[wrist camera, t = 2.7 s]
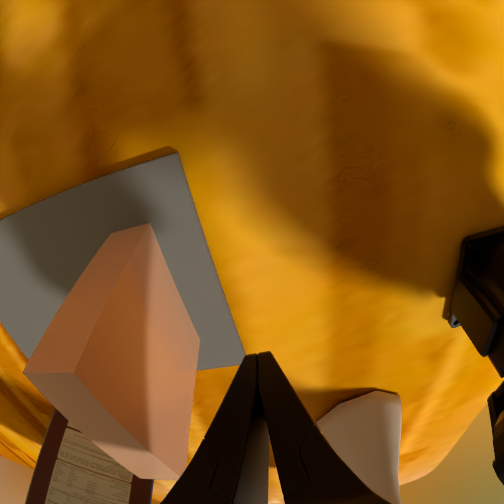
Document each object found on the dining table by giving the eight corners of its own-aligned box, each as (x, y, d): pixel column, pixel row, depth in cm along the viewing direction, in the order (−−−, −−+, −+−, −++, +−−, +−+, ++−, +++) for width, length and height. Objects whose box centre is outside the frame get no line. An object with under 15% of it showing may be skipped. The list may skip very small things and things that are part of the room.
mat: (178, 151, 12) (176, 153, 12) (247, 358, 18) (247, 363, 17) (-41, 241, 13) (-45, 244, 13) (45, 374, 19) (44, 378, 19)
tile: (150, 222, 13) (73, 372, 6) (200, 339, 16) (185, 480, 9) (105, 234, 13) (16, 372, 6) (161, 344, 17) (133, 477, 10)
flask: (299, 420, 22) (314, 537, 13) (380, 376, 20) (421, 503, 11) (344, 441, 25) (363, 534, 16) (413, 405, 22) (447, 502, 14)
